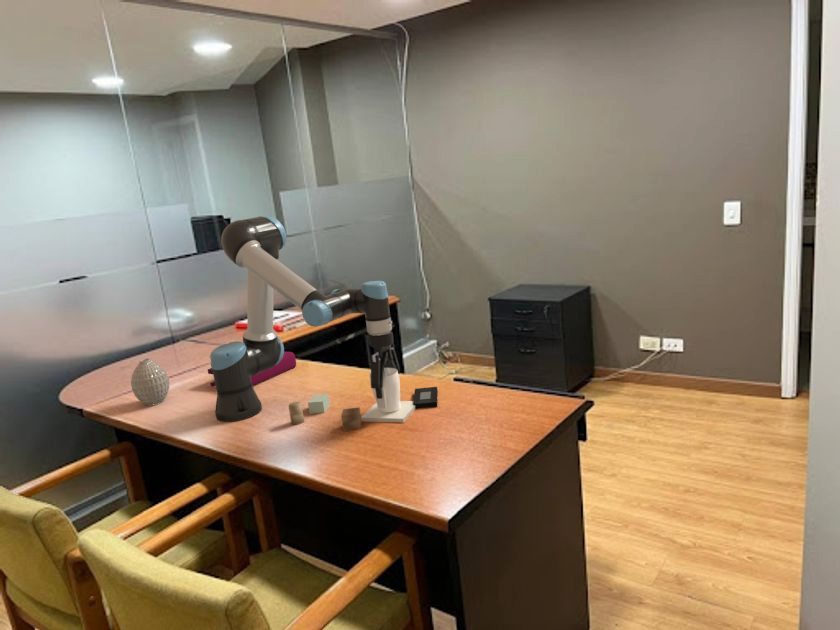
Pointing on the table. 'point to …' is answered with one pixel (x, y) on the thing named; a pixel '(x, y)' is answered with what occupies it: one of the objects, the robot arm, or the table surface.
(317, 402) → the sage block
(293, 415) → the oak cylinder
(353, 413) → the walnut cube
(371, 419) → the tile
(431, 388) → the vhs tape
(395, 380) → the cup
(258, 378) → the book
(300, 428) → the table surface
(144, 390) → the vase
